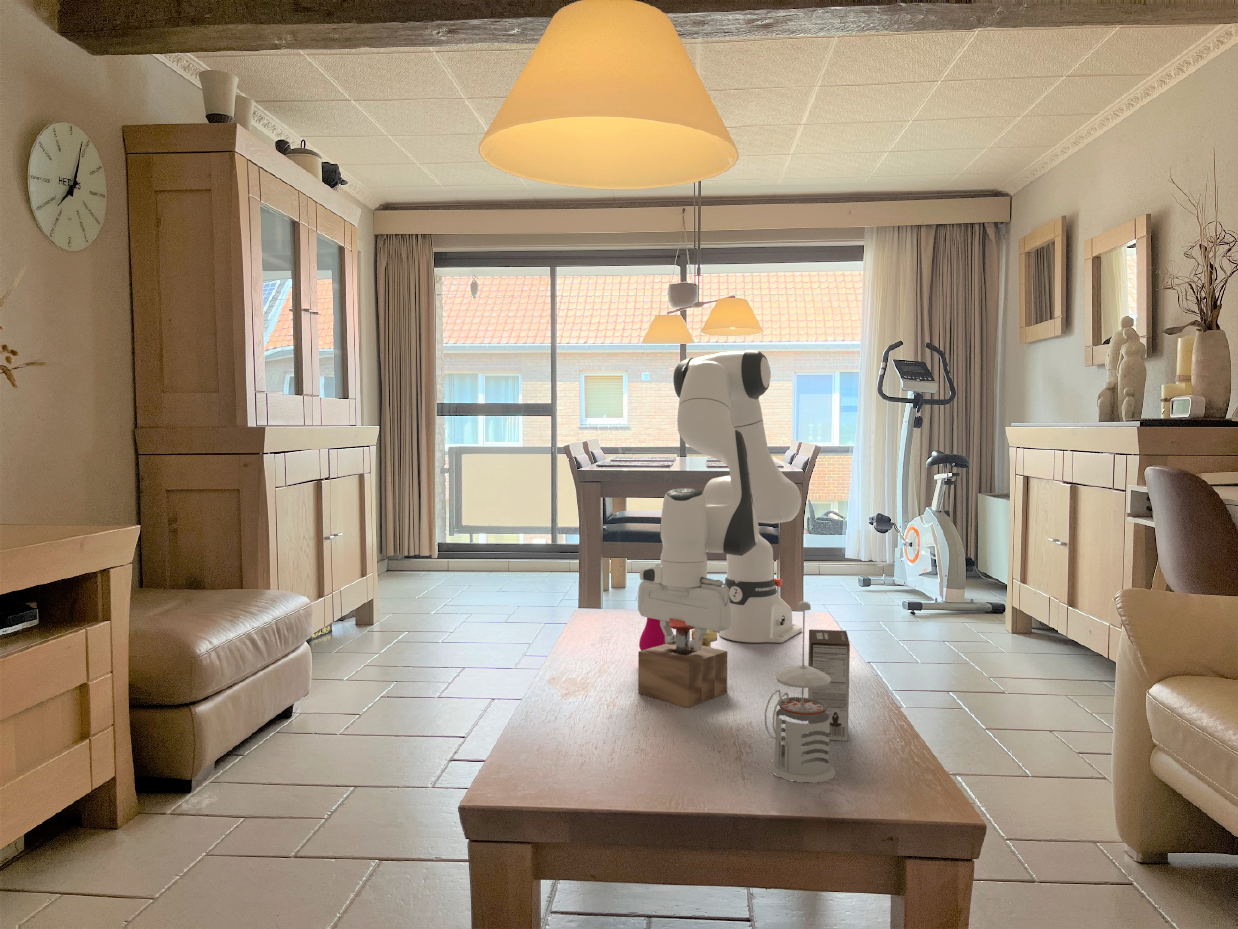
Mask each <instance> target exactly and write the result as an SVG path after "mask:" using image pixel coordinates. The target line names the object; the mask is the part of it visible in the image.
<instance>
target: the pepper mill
mask: <svg viewBox="0 0 1238 929" xmlns="http://www.w3.org/2000/svg"><path fill="white" fill-rule="evenodd" d="M663 644H666V643H665V635H664V633H663V631H662V628H661V626H660V620H658V619H653V618H648V617H646V623H645V626H644V629H643V631H642V633H641V635H640V637H639V643H638V645H639V649H640V650H639V651H642V650H646V649H649V648H653V647H656V646H660V645H663Z"/></svg>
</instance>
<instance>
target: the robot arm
mask: <svg viewBox="0 0 1238 929" xmlns="http://www.w3.org/2000/svg"><path fill="white" fill-rule="evenodd" d="M771 377H772V376H771V367H770V363H769V361H768V358H767V356H766V355H765V354H764V353H762V352H761V351H758V350H753V349H746V350H745V351H740V350H737V351H736V350H735V351H722V352H721V351H720V352H718V353H713V354H707V355H703V356H698V357H696V358H694V357H689V358H686V359H684V360H682V361H680V362H679V363H678V364H677V366H676V367H675V369H674V371H673V387H674V391H675V394H676V396H677V397H678V398H679V401H678V409H677V419H676V420H677V431H678V434H679V436H680V438H681V439H682V440H683V442H684V443H685V444H686V445H688V446H689V447H690V448H691V449H693V450H694V451H696V452H698V453H701V454H703V455H706V456H709V457H712V458H713V459H716V460H718V461H720V462H722V463H723V464H725V465H726V466H727V467H728V470H729V475H723V476H719V477H714V478H713V477H712V478H711V479H710V480H709V481H707V483H706V484H705V486H704V489H703V491H702V490H700V489H697V488H693V487H692V488H691V487H679V488H673V489H670V490H669V491H667V492H666V493H665V495H664V498H663V501H662V502H663V503H662V508H661V509H662V510H661V517H660V527H659V528H660V529H659V531H660V535H659V536H660V540H661V542H662V550H661V554H660V563H659V564H656V565H654V566H651V567H646V568H642V569H641V570H639V579H640V580H641V582H640V583H639V586H638V592H637V611H638V613H639V614H640V616H641V617H643V618H647V617H648V618H653V619H658V620H660V626H661V628H662V631H663V633H664V635H665V643H666V644H669V645H673V644H676V633H674V631H673V629H672V628H670V627H669V618H671V619H676V620H681V621H685V623H686V625H687V626H692V627H694V629H693V630H694V632H695V633H697V634H696V636H695V639H694V640H692V639H690V645H691V646H690V649H691V650H695V651H699V650H701V648H702V640H703V638H704V637H705V635H706V633H707V630H711V631H716V632H717V633H719V634H718V635H719V636H720V637H721V638H723V639H726V640H731V641H734V642H739V643H740V642H741V643H754V644H755V643H757V644H758V643H780V644H781V643H784V642H786V641H788V640H790V639H792V637H794V636H796V635H798V634H799V633H801V632H803V626H800V625H797V624H794V623H793V611H792V608H791V606H790V605H789V604H787V602H785V600H784V599H782V597H780V595H779V594H778V590H777V587H778V588H781V587H782V586H783V584H784V583H783V579H782V578H776V577H774V575H773V574H774V571H773V570H774V569H773V568H774V562H773V561H774V549H773V547H772V545H771V543H770V542H769V541H768V540H767V539H765V538H764V537H763V536H762V535H761V534H760V530H759V529H760V528H759V523H763V524H781V523H786V522H791V521H793V520H794V519H795V518H796V517H797V516H798V514H799V512H800V510H801V507H802V495H801V491H800V489H799V487H798V486H797V485H796V483H794V482H793V481H792V480H791V479H790V478H788V477H786V475H784V474H783V472H782V471H781V470H780V468H779V467H778V465H777V464H776V463H775V461H774V459H773V457H772V455H771V453H770V451H769V446H768V443H767V437H766V432H765V423H764V419H763V413H762V406H761V403H760V396H762V395H764V394H765V393H766V392H767V390H768V389H769V387H770V381H771ZM707 553H716V554H717V553H718V554H719V553H720V554H725V555H726V577H725V578H724V581H723V580H720V579H713V578H709V577H708V556H707Z"/></svg>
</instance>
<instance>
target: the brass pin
mask: <svg viewBox="0 0 1238 929" xmlns="http://www.w3.org/2000/svg"><path fill="white" fill-rule="evenodd" d="M696 634H697V633H695V632H694V629H691V640H694V639H695V636H696ZM717 640H718V632H716V631H711V630H707V633H706V635H705V637H704V638H703V640H702V646H706V647H711V648H712V646H711V645H712V644H711V643H713V642H717Z"/></svg>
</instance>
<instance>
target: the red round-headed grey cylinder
mask: <svg viewBox="0 0 1238 929" xmlns="http://www.w3.org/2000/svg"><path fill="white" fill-rule="evenodd" d="M669 627H670V628H671V629H672V630H675V635H676V653H677V654H681V655H687V654H690V640H691V635H690V633H691V631H692V630H694V627H692V626H687V625H686V623H685V621H681V620H676V619H671V618H669Z"/></svg>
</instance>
